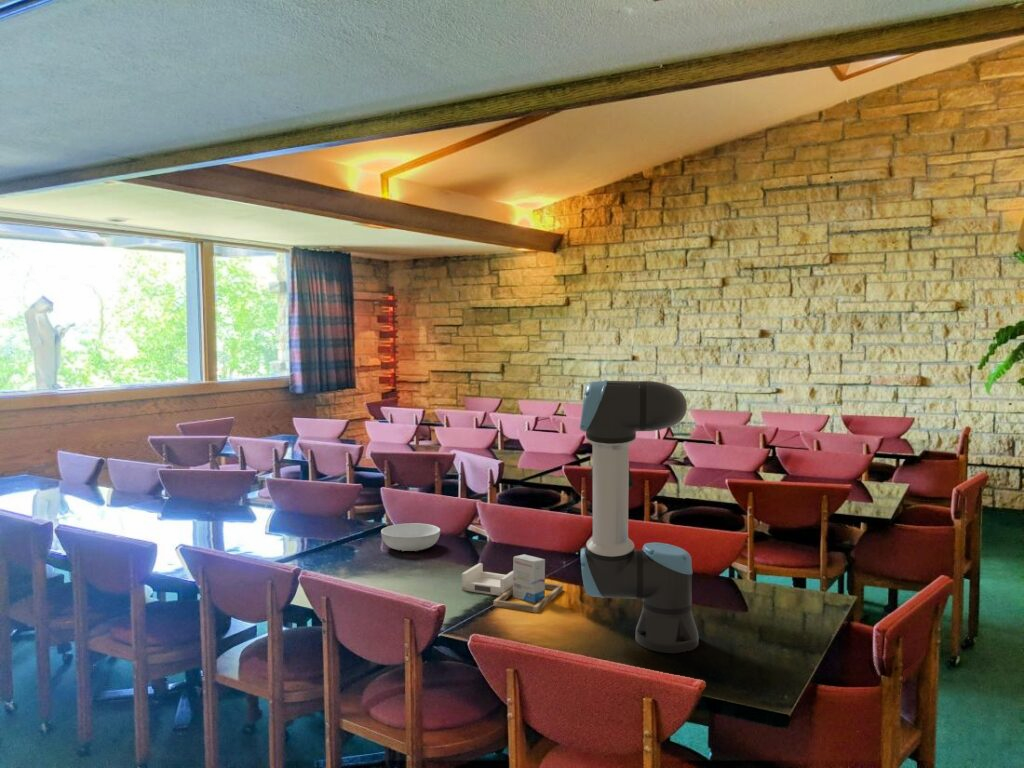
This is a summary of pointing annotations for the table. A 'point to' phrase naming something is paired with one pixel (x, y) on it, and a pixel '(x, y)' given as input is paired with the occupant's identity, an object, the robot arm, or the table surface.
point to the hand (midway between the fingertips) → (610, 506)
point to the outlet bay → (486, 581)
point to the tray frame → (524, 607)
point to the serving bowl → (410, 536)
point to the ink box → (528, 578)
